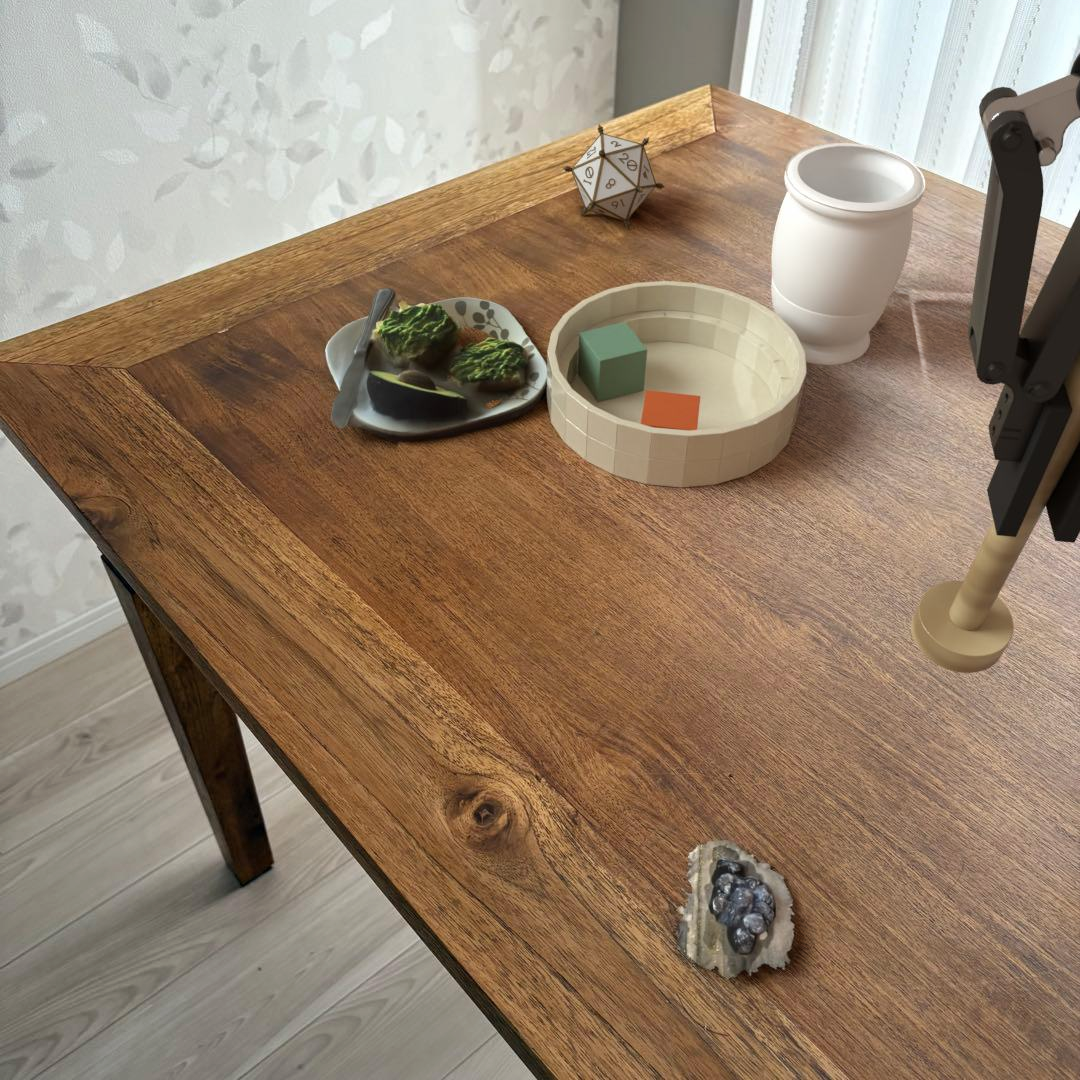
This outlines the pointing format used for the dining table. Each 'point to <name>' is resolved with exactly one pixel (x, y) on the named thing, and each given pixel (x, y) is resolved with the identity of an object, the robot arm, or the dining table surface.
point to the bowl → (682, 384)
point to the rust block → (670, 410)
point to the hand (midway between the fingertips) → (1029, 515)
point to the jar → (841, 244)
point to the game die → (614, 176)
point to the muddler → (989, 576)
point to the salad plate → (432, 369)
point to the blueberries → (734, 911)
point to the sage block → (611, 361)
